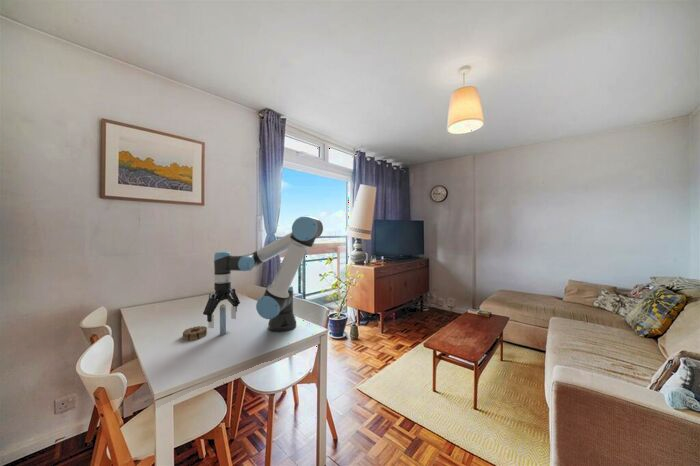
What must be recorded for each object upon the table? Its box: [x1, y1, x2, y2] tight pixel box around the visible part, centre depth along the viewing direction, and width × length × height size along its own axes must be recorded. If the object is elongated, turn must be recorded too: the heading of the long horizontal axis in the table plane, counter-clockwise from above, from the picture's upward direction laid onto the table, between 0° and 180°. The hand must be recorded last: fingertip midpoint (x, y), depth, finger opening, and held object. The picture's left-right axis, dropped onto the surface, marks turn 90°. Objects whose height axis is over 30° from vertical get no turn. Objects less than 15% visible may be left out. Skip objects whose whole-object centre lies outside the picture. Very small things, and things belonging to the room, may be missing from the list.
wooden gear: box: [182, 325, 208, 341], centre depth 125 cm, size 10×10×3 cm
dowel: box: [219, 304, 227, 336], centre depth 127 cm, size 3×3×15 cm
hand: (222, 322), depth 127 cm, fingers open, 13 cm apart
